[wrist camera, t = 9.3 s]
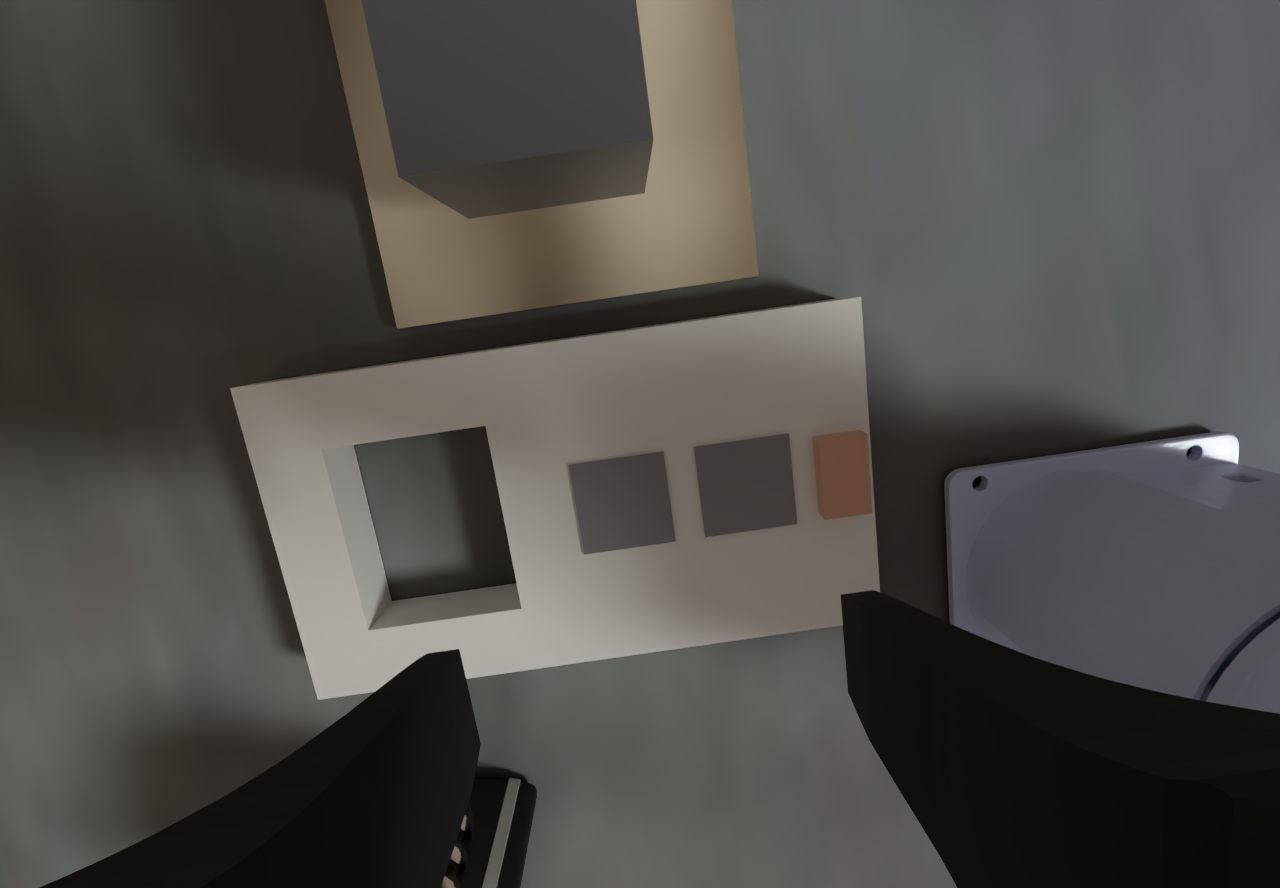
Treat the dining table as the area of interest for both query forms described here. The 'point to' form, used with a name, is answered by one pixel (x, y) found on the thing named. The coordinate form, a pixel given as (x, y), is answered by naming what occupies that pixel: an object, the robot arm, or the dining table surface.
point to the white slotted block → (588, 492)
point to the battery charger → (493, 836)
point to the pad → (582, 232)
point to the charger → (513, 100)
